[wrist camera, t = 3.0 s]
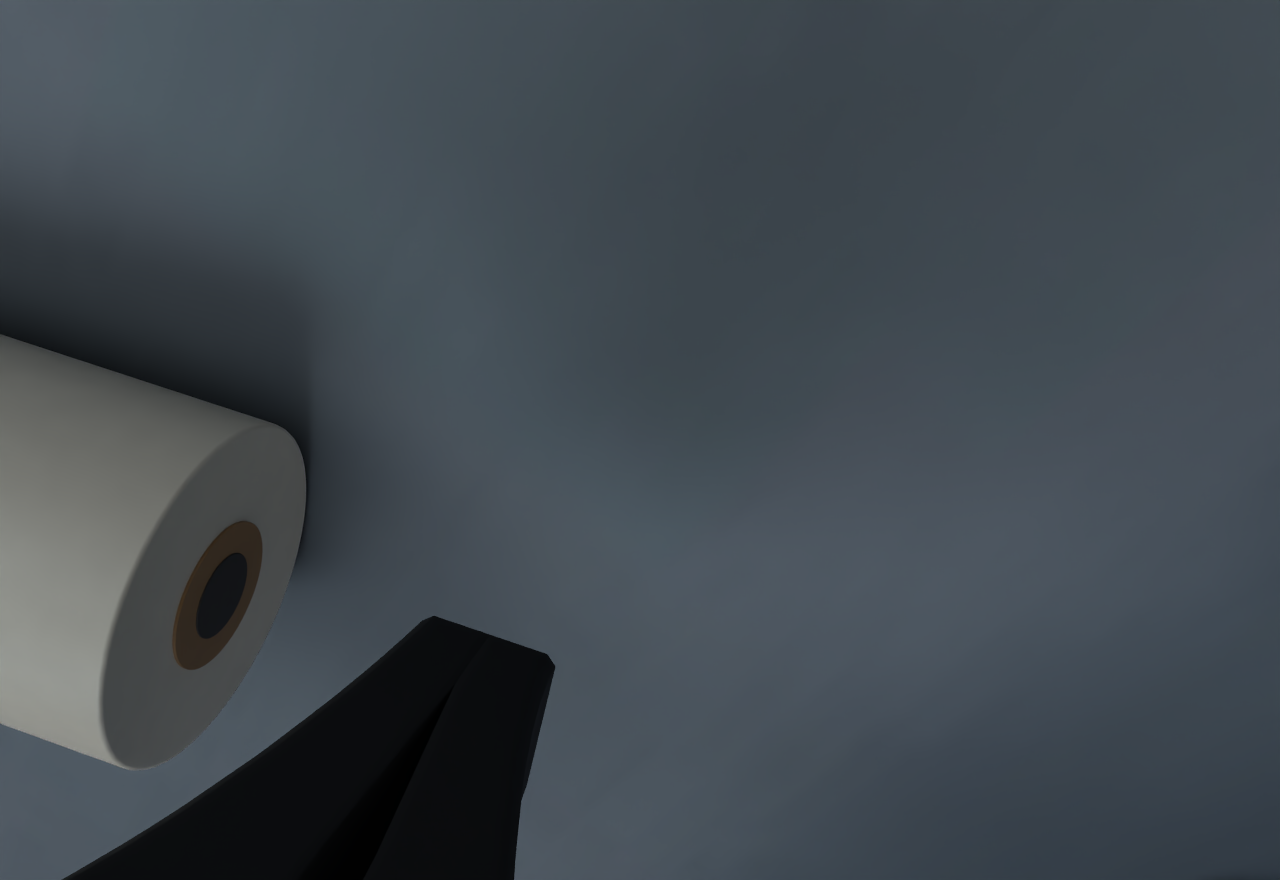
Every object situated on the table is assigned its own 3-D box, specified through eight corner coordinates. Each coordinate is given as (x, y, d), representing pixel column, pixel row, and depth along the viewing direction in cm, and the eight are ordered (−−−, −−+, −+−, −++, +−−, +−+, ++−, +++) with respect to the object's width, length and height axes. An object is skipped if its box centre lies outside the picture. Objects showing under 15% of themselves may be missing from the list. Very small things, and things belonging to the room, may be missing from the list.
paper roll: (263, 357, 12) (46, 725, 10) (335, 513, 16) (188, 801, 14) (-202, 208, 13) (-496, 528, 11) (-24, 393, 17) (-215, 655, 15)
